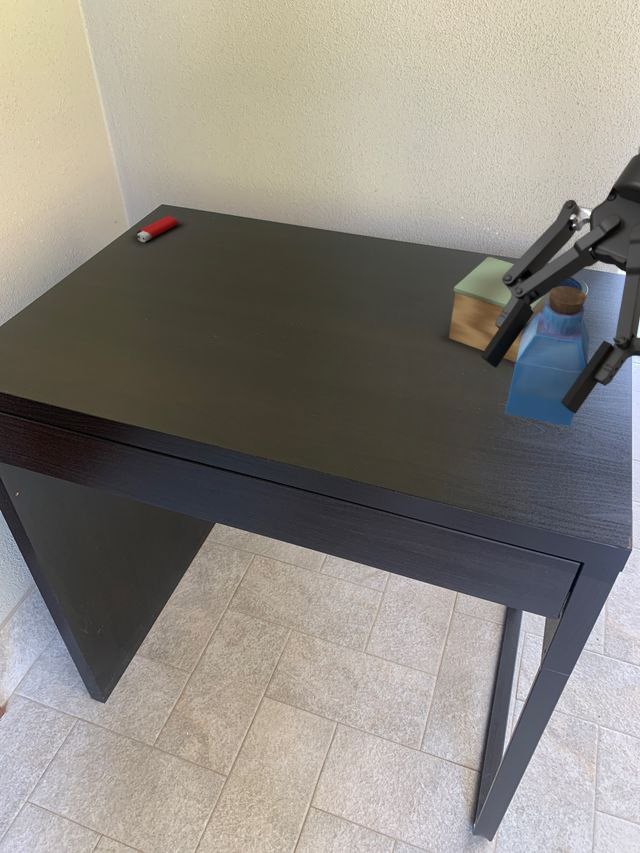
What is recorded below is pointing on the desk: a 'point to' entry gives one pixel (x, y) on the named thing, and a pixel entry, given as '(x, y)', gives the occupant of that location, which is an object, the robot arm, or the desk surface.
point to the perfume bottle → (550, 358)
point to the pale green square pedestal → (485, 306)
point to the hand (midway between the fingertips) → (526, 384)
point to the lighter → (156, 228)
